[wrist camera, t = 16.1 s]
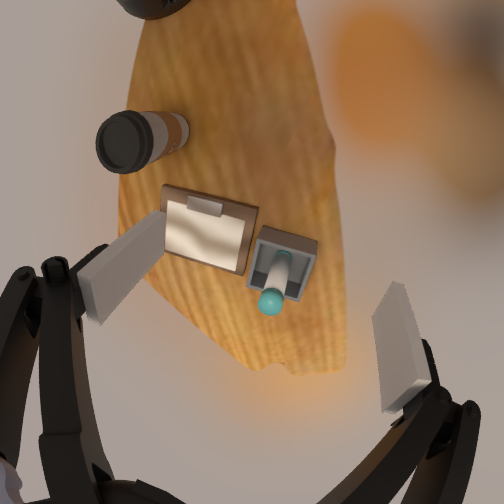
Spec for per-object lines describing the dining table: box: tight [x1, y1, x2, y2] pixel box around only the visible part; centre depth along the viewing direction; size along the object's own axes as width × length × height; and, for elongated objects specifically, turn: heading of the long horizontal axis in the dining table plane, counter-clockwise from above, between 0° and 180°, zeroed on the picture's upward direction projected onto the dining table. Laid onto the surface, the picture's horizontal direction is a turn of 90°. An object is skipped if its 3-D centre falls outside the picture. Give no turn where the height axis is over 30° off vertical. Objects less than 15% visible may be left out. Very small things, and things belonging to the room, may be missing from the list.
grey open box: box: [246, 226, 317, 302], centre depth 46 cm, size 9×9×5 cm
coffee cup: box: [96, 110, 189, 174], centre depth 35 cm, size 8×8×15 cm
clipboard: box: [160, 184, 259, 276], centre depth 48 cm, size 13×17×2 cm
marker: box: [258, 250, 292, 315], centre depth 42 cm, size 3×3×13 cm
